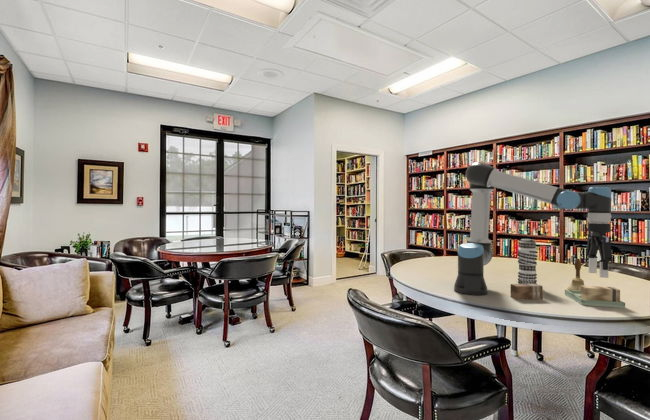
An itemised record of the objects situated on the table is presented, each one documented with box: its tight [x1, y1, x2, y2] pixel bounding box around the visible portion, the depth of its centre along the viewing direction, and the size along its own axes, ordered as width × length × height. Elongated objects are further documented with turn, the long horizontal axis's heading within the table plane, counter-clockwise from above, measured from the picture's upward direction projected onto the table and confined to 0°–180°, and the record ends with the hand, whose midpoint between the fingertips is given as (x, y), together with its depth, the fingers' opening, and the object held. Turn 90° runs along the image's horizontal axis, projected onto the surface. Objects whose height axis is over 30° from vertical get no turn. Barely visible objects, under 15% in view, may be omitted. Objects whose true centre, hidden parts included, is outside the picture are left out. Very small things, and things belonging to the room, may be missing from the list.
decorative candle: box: [516, 238, 539, 284], centre depth 167 cm, size 9×9×25 cm
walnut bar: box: [510, 283, 544, 301], centre depth 146 cm, size 12×5×6 cm, turn 92°
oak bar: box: [581, 285, 621, 302], centre depth 136 cm, size 12×5×6 cm, turn 72°
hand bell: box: [566, 258, 585, 291], centre depth 160 cm, size 8×8×16 cm
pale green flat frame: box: [564, 289, 626, 309], centre depth 141 cm, size 15×17×2 cm
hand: (598, 274), depth 137 cm, fingers open, 9 cm apart
